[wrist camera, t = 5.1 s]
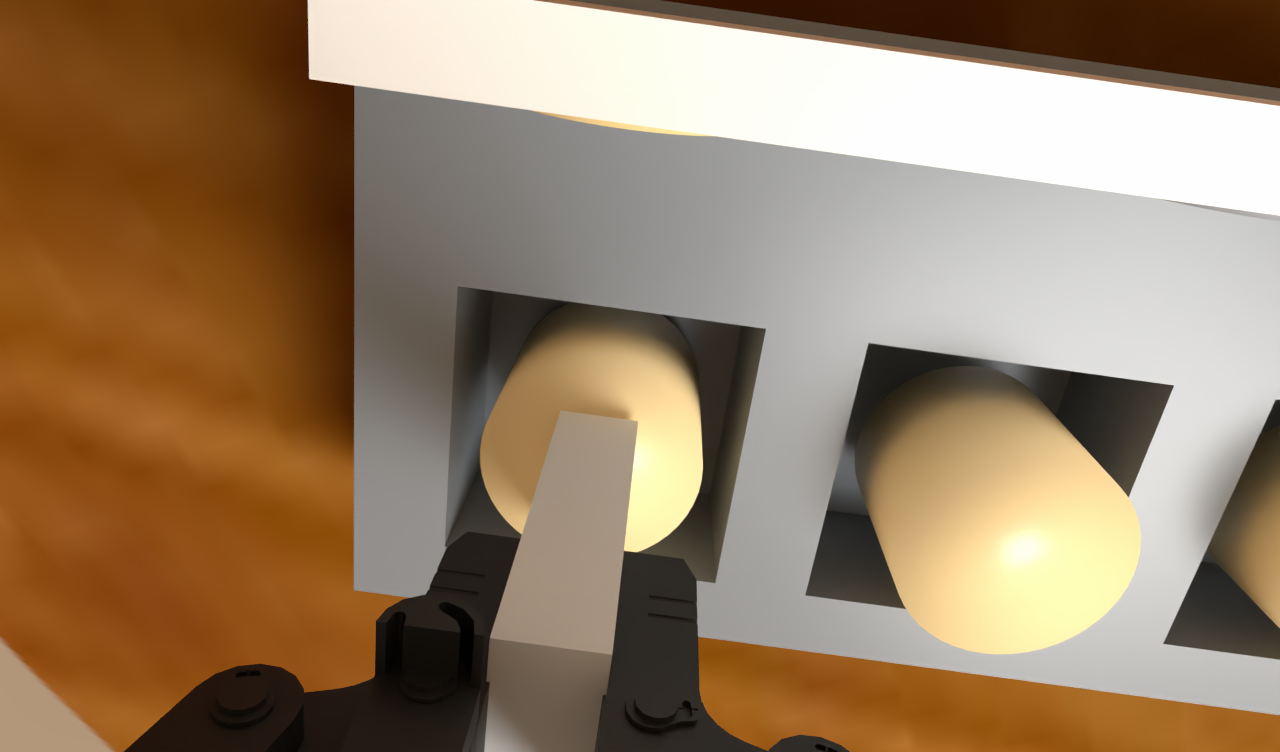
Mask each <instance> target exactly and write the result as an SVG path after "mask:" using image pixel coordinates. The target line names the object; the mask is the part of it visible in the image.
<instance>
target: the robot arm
mask: <svg viewBox="0 0 1280 752" xmlns="http://www.w3.org/2000/svg"><path fill="white" fill-rule="evenodd" d="M637 428H638V421H634V420H626V419H619V418H612V417H605V416H597V415H590V414H583V413H576V412H568V411H561V410H560V414H559V417H558V420H557V423H556V427H555V430H554V433H553V436H552V439H551V443H550V446H549V449H548V452H547V456H546V459H545V462H544V465H543V468H542V472H541V475H540V478H539V481H538V484H537V488H536V491H535V494H534V497H533V501H532V504H531V507H530V510H529V513H528V517H527V520H526V523H525V526H524V530H523V533H522V536H521V539H519V538H512V537H505V536H497V535H490V534H483V533H476V532H468V531H467V532H466V533H465V534H463V535H462V536H461V537H460V538H458V539H457V540H456V541H455V542H453V543H452V544H451V545H450V546H448V547H447V548H446V550H445V553H444V555H443V557H442V559H441V562H440V564H439V566H438V568H437V573H435V575H434V577H433V580H432V582H431V584H430V588H429V590H428V591H427V593H426V595H420V596H416V597H412V598H408V599H403V600H402V601H400V602H398V603H396V604H394V605H393V606H391V607H389V608H387V609H386V610H385V611H384V613H383V614H382V615H381V616H380V617H379V618H378V620H377V621H376V658H375V676H374V678H372V679H370V680H368V681H365V682H363V683H360V684H357V685H355V686H350V687H345V688H340V689H333V690H324V691H315V692H306V693H304V689H303V687H302V685H301V684H300V682H299V680H298V679H297V677H296V676H295V675H293V674H292V673H290V672H288V671H286V670H285V669H283V668H281V667H276V666H270V665H264V664H255V665H245V666H237V667H234V668H231V669H228V670H225V671H223V672H220V673H217V674H215V675H213V676H212V677H210V678H209V679H207V680H206V681H204V682H203V683H201V684H200V685H198V686H197V687H195V688H194V689H193V690H192V691H191V692H190V693H189V694H188V695H186V696H185V697H184V698H183V699H182V700H181V701H180V702H179V703H178V704H176V705H175V706H174V707H173V708H172V709H171V710H170V711H169V712H168V713H166V714H165V715H164V716H163V717H162V718H161V719H160V720H159V721H158V722H156V723H155V724H154V725H153V726H152V727H151V728H150V729H149V730H147V731H146V732H145V733H144V734H143V735H142V736H141V737H140V738H139V739H137V740H136V741H135V742H134V743H133V744H132V745H131V746H130V747H129V748H127V749H126V750H125V751H124V752H768V751H766V750H763V749H761V748H759V747H756V746H754V745H751V744H749V743H746V742H744V741H742V740H740V739H738V738H736V737H734V736H732V735H730V734H729V733H728V732H726V731H725V730H724V729H722V728H721V727H720V726H719V725H717V724H716V723H715V721H714V720H713V719H712V718H711V717H710V716H709V715H708V713H707V712H706V710H705V708H704V705H703V703H702V702H701V697H700V692H699V660H698V624H697V620H698V618H697V580H696V578H695V576H694V575H693V573H692V572H691V570H690V568H689V567H688V565H687V564H686V562H685V560H684V559H681V558H674V557H667V556H659V555H652V554H645V553H637V552H630V551H624V545H625V536H626V527H627V518H628V509H629V500H630V491H631V482H632V473H633V464H634V455H635V446H636V437H637ZM769 752H849V751H848V750H846V749H845V748H844V747H842V746H841V745H839V744H836V743H834V742H831V741H829V740H826V739H824V738H821V737H815V736H805V735H797V736H793V737H789V738H785V739H782V740H780V741H779V742H778V743H777V744H775V745H774V746H773V747H772V748H770V749H769Z"/></svg>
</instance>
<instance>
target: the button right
mask: <svg viewBox="0 0 1280 752" xmlns="http://www.w3.org/2000/svg"><path fill="white" fill-rule="evenodd" d="M1207 552H1208V553H1209V555H1210V556H1211V557H1212V559H1213V560H1214V561H1215V562H1216V563H1217V564H1218V565H1219V566H1220V567H1221V568H1222V569H1223V570H1224V571H1225V572H1226V573H1227V575H1228V576H1229V577H1230V578H1231V579H1232V580H1233V581H1234V582H1235V583H1236V584H1237V585H1238V586H1239V587H1240V588H1241V589H1242V590H1243V591H1244V592H1245V593H1246V594H1247V595H1248V596H1249V597H1250V598H1251V599H1252V600H1253V601H1254V602H1255V603H1256V605H1257V606H1258V607H1259V608H1260V609H1261V610H1262V611H1263V612H1264V613H1265V614H1266V615H1267V616H1268V617H1269V618H1270V619H1271V620H1272V621H1273V622H1274V623H1275V624H1276V625H1277V626H1278V627H1279V628H1280V426H1277V427H1275V428H1273V429H1271V430H1268V431H1266V432H1264V433H1262V434H1260V435H1259V437H1258V439H1257V441H1256V443H1255V446H1254V448H1253V450H1252V452H1251V454H1250V456H1249V459H1248V461H1247V463H1246V465H1245V467H1244V469H1243V472H1242V474H1241V476H1240V478H1239V480H1238V482H1237V485H1236V487H1235V489H1234V491H1233V493H1232V495H1231V498H1230V500H1229V502H1228V504H1227V506H1226V508H1225V511H1224V513H1223V515H1222V517H1221V519H1220V521H1219V524H1218V526H1217V528H1216V530H1215V532H1214V534H1213V537H1212V539H1211V541H1210V543H1209V545H1208V548H1207Z"/></svg>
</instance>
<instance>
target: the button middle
mask: <svg viewBox="0 0 1280 752" xmlns="http://www.w3.org/2000/svg"><path fill="white" fill-rule="evenodd" d="M855 474H856V479H857V482H858V486H859V489H860V491H861V494H862V497H863V499H864V502H865V505H866V508H867V510H868V513H869V516H870V518H871V521H872V524H873V526H874V529H875V532H876V534H877V537H878V540H879V543H880V545H881V548H882V551H883V553H884V556H885V559H886V561H887V564H888V567H889V570H890V572H891V575H892V578H893V580H894V583H895V586H896V588H897V591H898V594H899V596H900V598H901V600H902V602H903V605H904V606H905V608H906V609H907V611H908V612H909V614H910V615H911V617H912V618H913V619H914V620H915V621H916V622H917V623H918V624H919V625H920V626H921V627H922V628H924V629H925V630H926V631H927V632H928V633H930V634H931V635H933V636H935V637H936V638H938V639H939V640H941V641H943V642H946V643H948V644H950V645H952V646H955V647H958V648H961V649H964V650H968V651H973V652H978V653H986V654H1016V653H1025V652H1030V651H1035V650H1039V649H1043V648H1046V647H1049V646H1052V645H1055V644H1058V643H1060V642H1063V641H1065V640H1067V639H1069V638H1072V637H1073V636H1075V635H1077V634H1079V633H1080V632H1082V631H1084V630H1086V629H1087V628H1088V627H1090V626H1091V625H1093V624H1094V623H1095V622H1097V621H1098V620H1099V619H1100V618H1101V617H1103V616H1104V615H1105V614H1106V613H1107V612H1108V611H1109V610H1110V609H1111V608H1112V607H1113V606H1114V605H1115V603H1116V602H1117V601H1118V600H1119V599H1120V597H1121V596H1122V594H1123V593H1124V592H1125V590H1126V589H1127V587H1128V585H1129V583H1130V581H1131V579H1132V577H1133V575H1134V573H1135V570H1136V567H1137V564H1138V560H1139V555H1140V549H1141V533H1140V526H1139V521H1138V518H1137V515H1136V512H1135V509H1134V507H1133V505H1132V503H1131V501H1130V499H1129V498H1128V496H1127V495H1126V494H1125V492H1124V491H1123V490H1122V489H1121V487H1120V486H1119V485H1118V484H1117V483H1116V482H1115V481H1114V480H1113V478H1112V477H1111V476H1110V475H1109V474H1108V473H1107V472H1106V471H1105V470H1104V469H1103V468H1102V467H1101V465H1100V464H1099V463H1098V462H1097V461H1096V460H1095V459H1094V458H1093V457H1092V456H1091V455H1090V453H1089V452H1088V451H1087V450H1086V449H1085V448H1084V447H1083V446H1082V445H1081V444H1080V443H1079V441H1078V440H1077V439H1076V438H1075V437H1074V436H1073V435H1072V434H1071V433H1070V432H1069V431H1068V430H1067V428H1066V427H1065V426H1064V425H1063V424H1062V423H1061V422H1060V421H1059V420H1058V419H1057V418H1056V416H1055V415H1054V414H1053V413H1052V412H1051V411H1050V410H1049V409H1048V408H1047V407H1046V406H1045V404H1044V403H1043V402H1042V401H1041V400H1040V399H1039V398H1038V397H1037V396H1036V395H1035V394H1034V393H1033V392H1032V391H1031V390H1030V389H1029V388H1028V387H1027V386H1026V385H1024V384H1023V383H1021V382H1020V381H1018V380H1017V379H1015V378H1013V377H1011V376H1009V375H1007V374H1005V373H1002V372H999V371H996V370H993V369H988V368H983V367H975V366H954V367H947V368H941V369H937V370H934V371H930V372H927V373H924V374H922V375H919V376H917V377H914V378H912V379H911V380H909V381H907V382H905V383H903V384H902V385H900V386H899V387H897V388H896V389H895V390H893V391H892V392H890V393H889V394H888V395H887V396H886V397H885V398H884V399H883V400H882V401H881V402H880V403H879V404H878V405H877V406H876V407H875V409H874V410H873V411H872V413H871V414H870V416H869V417H868V419H867V420H866V422H865V424H864V426H863V428H862V430H861V432H860V435H859V438H858V441H857V445H856V451H855Z"/></svg>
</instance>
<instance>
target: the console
mask: <svg viewBox="0 0 1280 752" xmlns="http://www.w3.org/2000/svg"><path fill="white" fill-rule="evenodd" d="M308 40H309V79H312V80H319V81H326V82H334V83H341V84H348V85H354V590H357V591H365V592H372V593H380V594H387V595H394V596H402V597H409V598H412V597H416V596H420V595H426V593H427V591H428V590H429V588H430V584H431V582H432V580H433V577H434V575H435V573H437V568H438V566H439V564H440V562H441V559H442V557H443V555H444V553H445V550H446V548H447V547H448V546H450V545H451V544H452V543H453V542H455V541H456V540H457V539H458V538H460V537H461V536H462V535H463V534H465V533H466V532H467V531H468V532H476V533H483V534H490V535H497V536H505V537H512V538H519V539H521V536H522V534H520V533H519V532H518V531H517V530H515V529H514V528H513V527H512V526H511V525H510V524H509V523H508V522H507V521H506V520H505V519H504V517H503V516H502V515H501V514H500V513H499V511H498V510H497V508H496V507H495V505H494V503H493V502H492V500H491V498H490V496H489V494H488V492H487V490H486V487H485V484H484V480H483V477H482V472H481V466H480V447H481V440H482V435H483V432H484V428H485V425H486V423H487V421H488V419H489V416H490V414H491V412H492V410H493V408H494V406H495V404H496V402H497V400H498V397H499V395H500V393H501V391H502V389H503V387H504V385H505V383H506V381H507V378H508V376H509V374H510V372H511V370H512V368H513V366H514V364H515V362H516V359H517V357H518V355H519V353H520V351H521V349H522V347H523V345H524V343H525V340H526V339H527V337H528V336H529V334H530V333H531V331H532V330H533V329H534V328H535V327H536V326H537V324H538V323H539V322H540V321H541V320H543V319H544V318H545V317H546V316H547V315H549V314H550V313H552V312H553V311H555V310H556V309H558V308H560V307H562V306H564V305H566V304H568V303H571V302H576V303H583V304H590V305H597V306H605V307H612V308H619V309H626V310H634V311H641V312H648V313H655V314H661V315H663V316H664V317H665V318H667V319H668V320H669V321H670V322H671V323H672V324H673V325H674V326H675V327H676V328H677V329H678V330H679V331H680V332H681V334H682V335H683V336H684V338H685V339H686V341H687V342H688V344H689V346H690V348H691V350H692V352H693V355H694V358H695V360H696V363H697V368H698V374H699V391H700V413H701V435H702V457H703V472H702V481H701V485H700V489H699V493H698V495H697V497H696V500H695V502H694V504H693V506H692V508H691V509H690V511H689V513H688V514H687V516H686V517H685V518H684V520H683V521H682V522H681V523H680V525H679V526H678V527H677V528H676V529H674V530H673V531H672V532H671V533H670V534H669V535H668V536H666V537H665V538H663V539H662V540H661V541H659V542H658V543H656V544H654V545H652V546H650V547H648V548H647V549H644V550H641V551H639V552H637V553H645V554H652V555H659V556H667V557H674V558H681V559H684V560H685V562H686V564H687V565H688V567H689V568H690V570H691V572H692V573H693V575H694V576H695V578H696V580H697V618H698V620H697V624H698V637H706V638H713V639H720V640H728V641H735V642H743V643H750V644H757V645H765V646H772V647H780V648H787V649H795V650H802V651H809V652H817V653H824V654H832V655H839V656H846V657H854V658H861V659H869V660H876V661H883V662H891V663H898V664H906V665H913V666H920V667H928V668H935V669H943V670H950V671H957V672H965V673H972V674H980V675H987V676H995V677H1002V678H1009V679H1017V680H1024V681H1032V682H1039V683H1046V684H1054V685H1061V686H1069V687H1076V688H1083V689H1091V690H1098V691H1106V692H1113V693H1120V694H1128V695H1135V696H1143V697H1150V698H1157V699H1165V700H1172V701H1180V702H1187V703H1195V704H1202V705H1209V706H1217V707H1224V708H1232V709H1239V710H1246V711H1254V712H1261V713H1269V714H1276V715H1280V628H1279V627H1278V626H1277V625H1276V624H1275V623H1274V622H1273V621H1272V620H1271V619H1270V618H1269V617H1268V616H1267V615H1266V614H1265V613H1264V612H1263V611H1262V610H1261V609H1260V608H1259V607H1258V606H1257V605H1256V603H1255V602H1254V601H1253V600H1252V599H1251V598H1250V597H1249V596H1248V595H1247V594H1246V593H1245V592H1244V591H1243V590H1242V589H1241V588H1240V587H1239V586H1238V585H1237V584H1236V583H1235V582H1234V581H1233V580H1232V579H1231V578H1230V577H1229V576H1228V575H1227V573H1226V572H1225V571H1224V570H1223V569H1222V568H1221V567H1220V566H1219V565H1218V564H1217V563H1216V562H1215V561H1214V560H1213V559H1212V557H1211V556H1210V555H1209V553H1208V552H1207V548H1208V545H1209V543H1210V541H1211V539H1212V537H1213V534H1214V532H1215V530H1216V528H1217V526H1218V524H1219V521H1220V519H1221V517H1222V515H1223V513H1224V511H1225V508H1226V506H1227V504H1228V502H1229V500H1230V498H1231V495H1232V493H1233V491H1234V489H1235V487H1236V485H1237V482H1238V480H1239V478H1240V476H1241V474H1242V472H1243V469H1244V467H1245V465H1246V463H1247V461H1248V459H1249V456H1250V454H1251V452H1252V450H1253V448H1254V446H1255V443H1256V441H1257V439H1258V437H1259V435H1260V434H1262V433H1264V432H1266V431H1268V430H1271V429H1273V428H1275V427H1277V426H1280V88H1274V87H1267V86H1260V85H1253V84H1246V83H1239V82H1232V81H1225V80H1218V79H1211V78H1204V77H1197V76H1190V75H1183V74H1176V73H1169V72H1162V71H1155V70H1148V69H1141V68H1134V67H1127V66H1120V65H1112V64H1105V63H1098V62H1091V61H1084V60H1077V59H1070V58H1063V57H1056V56H1049V55H1042V54H1035V53H1028V52H1021V51H1014V50H1007V49H1000V48H993V47H986V46H979V45H972V44H965V43H958V42H951V41H944V40H936V39H929V38H922V37H915V36H908V35H901V34H894V33H887V32H880V31H873V30H866V29H859V28H852V27H845V26H838V25H831V24H824V23H817V22H810V21H803V20H796V19H789V18H782V17H775V16H768V15H760V14H753V13H746V12H739V11H732V10H725V9H718V8H711V7H704V6H697V5H690V4H683V3H676V2H669V1H662V0H308ZM954 366H975V367H983V368H988V369H993V370H996V371H999V372H1002V373H1005V374H1007V375H1009V376H1011V377H1013V378H1015V379H1017V380H1018V381H1020V382H1021V383H1023V384H1024V385H1026V386H1027V387H1028V388H1029V389H1030V390H1031V391H1032V392H1033V393H1034V394H1035V395H1036V396H1037V397H1038V398H1039V399H1040V400H1041V401H1042V402H1043V403H1044V404H1045V406H1046V407H1047V408H1048V409H1049V410H1050V411H1051V412H1052V413H1053V414H1054V415H1055V416H1056V418H1057V419H1058V420H1059V421H1060V422H1061V423H1062V424H1063V425H1064V426H1065V427H1066V428H1067V430H1068V431H1069V432H1070V433H1071V434H1072V435H1073V436H1074V437H1075V438H1076V439H1077V440H1078V441H1079V443H1080V444H1081V445H1082V446H1083V447H1084V448H1085V449H1086V450H1087V451H1088V452H1089V453H1090V455H1091V456H1092V457H1093V458H1094V459H1095V460H1096V461H1097V462H1098V463H1099V464H1100V465H1101V467H1102V468H1103V469H1104V470H1105V471H1106V472H1107V473H1108V474H1109V475H1110V476H1111V477H1112V478H1113V480H1114V481H1115V482H1116V483H1117V484H1118V485H1119V486H1120V487H1121V489H1122V490H1123V491H1124V492H1125V494H1126V495H1127V496H1128V498H1129V499H1130V501H1131V503H1132V505H1133V507H1134V509H1135V512H1136V515H1137V518H1138V521H1139V526H1140V533H1141V549H1140V555H1139V560H1138V564H1137V567H1136V570H1135V573H1134V575H1133V577H1132V579H1131V581H1130V583H1129V585H1128V587H1127V589H1126V590H1125V592H1124V593H1123V594H1122V596H1121V597H1120V599H1119V600H1118V601H1117V602H1116V603H1115V605H1114V606H1113V607H1112V608H1111V609H1110V610H1109V611H1108V612H1107V613H1106V614H1105V615H1104V616H1103V617H1101V618H1100V619H1099V620H1098V621H1097V622H1095V623H1094V624H1093V625H1091V626H1090V627H1088V628H1087V629H1086V630H1084V631H1082V632H1080V633H1079V634H1077V635H1075V636H1073V637H1072V638H1069V639H1067V640H1065V641H1063V642H1060V643H1058V644H1055V645H1052V646H1049V647H1046V648H1043V649H1039V650H1035V651H1030V652H1025V653H1016V654H986V653H978V652H973V651H968V650H964V649H961V648H958V647H955V646H952V645H950V644H948V643H946V642H943V641H941V640H939V639H938V638H936V637H935V636H933V635H931V634H930V633H928V632H927V631H926V630H925V629H924V628H922V627H921V626H920V625H919V624H918V623H917V622H916V621H915V620H914V619H913V618H912V617H911V615H910V614H909V612H908V611H907V609H906V608H905V606H904V605H903V602H902V600H901V598H900V596H899V594H898V591H897V588H896V586H895V583H894V580H893V578H892V575H891V572H890V570H889V567H888V564H887V561H886V559H885V556H884V553H883V551H882V548H881V545H880V543H879V540H878V537H877V534H876V532H875V529H874V526H873V524H872V521H871V518H870V516H869V513H868V510H867V508H866V505H865V502H864V499H863V497H862V494H861V491H860V489H859V486H858V482H857V479H856V474H855V451H856V445H857V441H858V438H859V435H860V432H861V430H862V428H863V426H864V424H865V422H866V420H867V419H868V417H869V416H870V414H871V413H872V411H873V410H874V409H875V407H876V406H877V405H878V404H879V403H880V402H881V401H882V400H883V399H884V398H885V397H886V396H887V395H888V394H889V393H890V392H892V391H893V390H895V389H896V388H897V387H899V386H900V385H902V384H903V383H905V382H907V381H909V380H911V379H912V378H914V377H917V376H919V375H922V374H924V373H927V372H930V371H934V370H937V369H941V368H947V367H954Z"/></svg>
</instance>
